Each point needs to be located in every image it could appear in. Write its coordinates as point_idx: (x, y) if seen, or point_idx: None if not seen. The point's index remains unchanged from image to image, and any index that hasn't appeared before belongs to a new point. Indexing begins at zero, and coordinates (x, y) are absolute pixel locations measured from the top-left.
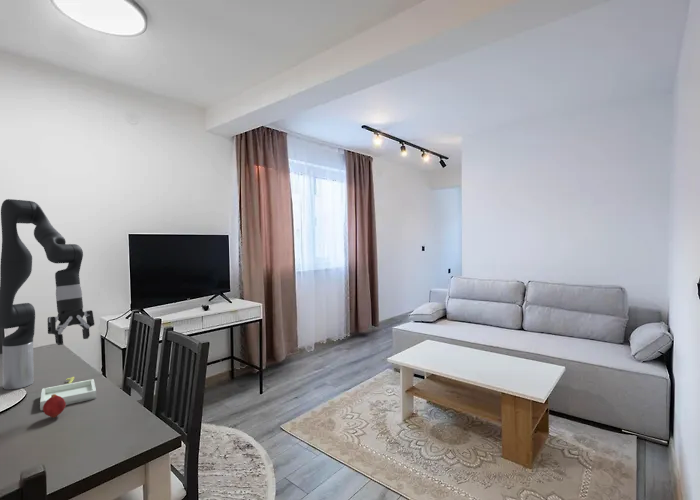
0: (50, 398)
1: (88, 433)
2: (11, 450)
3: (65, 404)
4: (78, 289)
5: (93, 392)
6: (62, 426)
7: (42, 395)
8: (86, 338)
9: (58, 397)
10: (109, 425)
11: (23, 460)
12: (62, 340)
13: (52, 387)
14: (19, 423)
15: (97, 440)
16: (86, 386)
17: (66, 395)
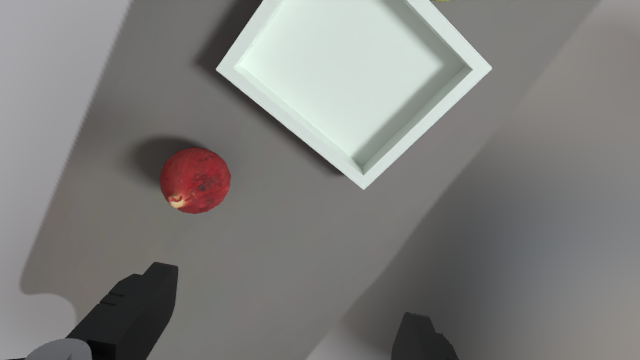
0: (169, 192)
1: (185, 308)
2: (57, 217)
3: (222, 200)
4: None
5: (356, 181)
6: (182, 231)
7: (266, 6)
8: (392, 355)
9: (190, 208)
10: (230, 323)
11: (56, 274)
12: (149, 343)
13: None
14: (137, 91)
15: (173, 341)
16: (448, 58)
17: (342, 60)
